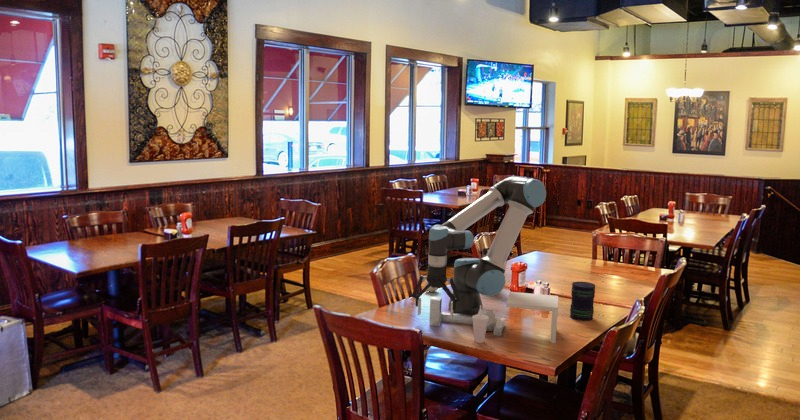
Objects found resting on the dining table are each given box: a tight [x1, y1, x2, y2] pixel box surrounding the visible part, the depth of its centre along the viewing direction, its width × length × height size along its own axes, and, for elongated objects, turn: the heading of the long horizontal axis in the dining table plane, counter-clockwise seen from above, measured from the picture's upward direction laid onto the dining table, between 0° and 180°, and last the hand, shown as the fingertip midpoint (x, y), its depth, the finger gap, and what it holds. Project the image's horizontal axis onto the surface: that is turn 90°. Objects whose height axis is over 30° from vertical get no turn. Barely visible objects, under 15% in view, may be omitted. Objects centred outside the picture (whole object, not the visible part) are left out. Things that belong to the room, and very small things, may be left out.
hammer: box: [428, 296, 506, 336], centre depth 279 cm, size 30×14×11 cm, turn 77°
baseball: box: [423, 279, 439, 293], centre depth 332 cm, size 7×7×7 cm
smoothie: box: [472, 305, 489, 344], centre depth 261 cm, size 6×6×14 cm
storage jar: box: [569, 281, 596, 322], centre depth 296 cm, size 10×10×15 cm
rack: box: [505, 291, 559, 344], centre depth 273 cm, size 20×18×14 cm
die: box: [476, 308, 497, 332], centre depth 276 cm, size 8×9×10 cm
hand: (435, 315), depth 281 cm, fingers open, 13 cm apart
